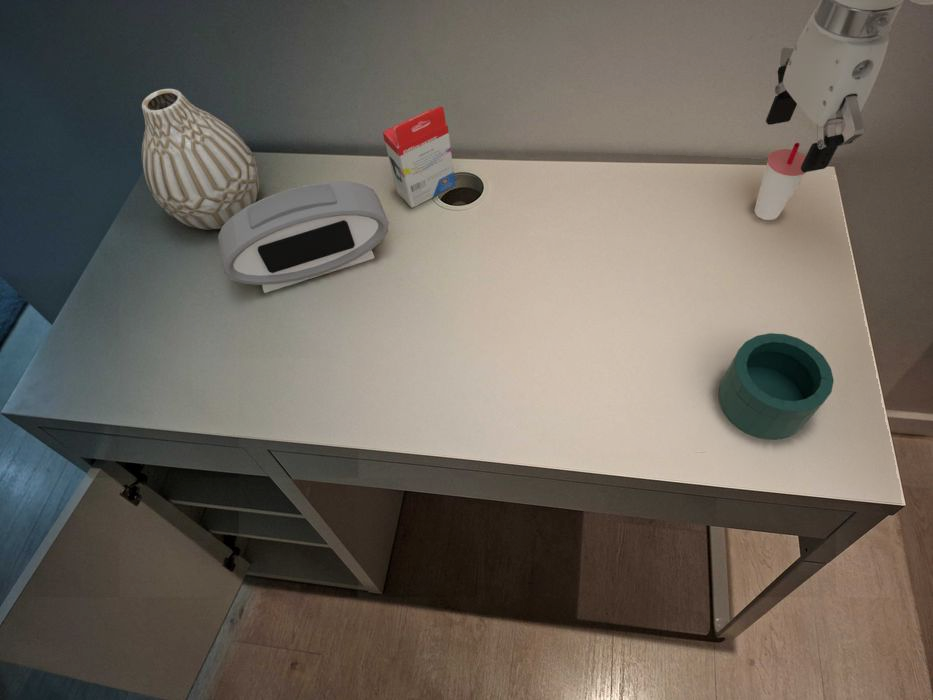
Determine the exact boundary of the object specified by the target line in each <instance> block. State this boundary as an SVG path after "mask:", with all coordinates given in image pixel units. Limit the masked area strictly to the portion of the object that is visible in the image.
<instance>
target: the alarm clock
mask: <svg viewBox="0 0 933 700" xmlns="http://www.w3.org/2000/svg"><path fill="white" fill-rule="evenodd" d="M388 232H389V220H388V218H387V215H386V213H385V210H384V208H383V204H382V203H381V200H380V198H379V195H378V194H377V193H376V191H375V190H374V189H373V188H371V187H369V186H367V185H366V184H363V183H359V182H353V181H326V182H318V183H311V184H310V183H309V184H306V185H301V186H297V187H294V188H289V189H285V190H282V191H279V192H277V193H274V194H271V195H269V196H266V197H264V198H262V199H259V200H256V201H255V203H253V204H251V205H249V206H247V207H246V208H244V209H243V210H241V211H240V212H238V213H237V214H235V215H234V216H232V217H231V218H230V219H229V220H228V221H227V222H226V223H225V224H224V225H223V226H222V228H220V231H219V233H218V235H217V238H218V245H219V250H220V257H221V264H222V270H223V274H224V275H225V276H226V277H228V279H230V280H231V281H233V282H237V283H240V284H244V285H254V286H255V285H256V286H262V291H263V292H264V294H266V293H270V292H273V291H276V290H280V289H282V288H285V287H286V288H287V287H288V286H292V285H295V284H299V283H301V282H304V281H308V280H310V279H314V278H318V277H320V276H323V275H326V274H327V275H328V274H330V273H333V272H336V271H340V270H343V269H346V268H348V267H353V266H356V265H358V264H361V263H364V262H368V261H371V260H374V259H375V258H376V257H375V255H374V252H373V249H375V247H376V246H378V244H380V242H382V241H383V240H384V238H385V236H386V235H387V234H388Z"/></svg>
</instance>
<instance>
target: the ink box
mask: <svg viewBox="0 0 933 700" xmlns="http://www.w3.org/2000/svg"><path fill="white" fill-rule="evenodd" d="M445 114H446V113H445V107H444V105H439V106H437V107H435V108H433V109H432V108H430V109H427V110H426V111H423V112H421V113H419V114H417V115H415V116H413V117H410V118H409V119H406V120H404V121H402V122H400V123H398V124H395V125H394V126H392V127H390V128H387V129H385V130H383V131H382V136H383V140H384V144H385V148H386V152H387V156H388V160H389V164H390V169H391V173H392V177H393V181H394V185H395V189H396V193H397V194H398V195H399V196H400V198H401V199H402V200H403V201H405V202H406V204H407V205H408V206H409V207H410V208H412V209H413V208H415V207H417V206H419V205H421V204H423V203H425V202H428V200H431V199H432V198H434V197H436V196H438V195H440V194H442V193H445V192H446V191H448V190H450V189H452V188H454V187H455V186H456V179H455V171H454V163H453V156H452V155H453V154H452V149H451V141H450V139H451V138H450V133H449V125H448V123H447V120H446V115H445Z"/></svg>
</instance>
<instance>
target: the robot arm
mask: <svg viewBox="0 0 933 700" xmlns="http://www.w3.org/2000/svg"><path fill="white" fill-rule="evenodd" d="M904 1H905V0H819V1H818V4H817V6H816V8H815V9H814V10H813V12H812V14H811V15H810V18H809V19H808V20H807V22H806V24H805V25H804V27H803V30H802V32H801V34H800V36H799V37H798V40H797V42H796V45H792V46H785V47H782V49H781V52H780V61H779V65H780V66H779V67H778V69H777V78H778V79H777V81H778V84H776V85H775V87H774V94H775V96H774V98H773V101H772V104H771V106H770V108H769V111H768V113H767V116H766V119H765V123H766V125H769V126H771V125H777V124H783V123H787V122H790V121H791V119H792V118H793V115H794V113H795V110H796V107H797V106H798V107H799V108H800V110H801V111H802V112H803V113H804V114H805V116H806V117H807V118H808V119H809V120H810V121H811V122H812V123H813V124H814V125H816V142H813V143H812V144H811V145H810V147H809V149H808V151H807V153H806V154H805V156H806V157H805V159H804V161H803V164H802V166H801V170H802V172H806V173H809V172H814V171H819V170H824V169H826V168H827V167H828V166H829V164H830V162H831V160H832V158H833V157H834V155H835V153H836V151H837V149H838V147H840V146H844V145H849V144H852V143H854V141H855V140H857V139H858V138H860V137H861V136H863V135H864V134H865V132H866V128H865V124H864V121H863V116H862V113H861V112H862V110H863V108H864V106H865V104H866V103H867V100H868V99H869V96H870V94H871V92H872V90H873V87H874V86H875V83H876V80H877V78H878V76H879V73H880V70H881V68H882V65H883V63H884V59H885V57H886V53H887V50H888V47H889V42H890V37H889V34H890V33H891V32H892V30H893V27H894V26H893V22H894V20H895V18H896V16H897V14H898V13H899V11H900V9H901V7H902V5H903V3H904ZM909 2H912V3H913V4H918V5H923V6H924V5H925V6H930V5H933V0H909ZM834 116H835V117H834ZM830 125H834V135H831V136H829V126H830Z"/></svg>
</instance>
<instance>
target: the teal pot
mask: <svg viewBox="0 0 933 700" xmlns="http://www.w3.org/2000/svg"><path fill="white" fill-rule="evenodd" d="M834 382H835V381H834V376H833V371H832V368H831V366H830V364H829V362H828V360H827V359H826V358H825V356H824V354H822V353H821V352H820V351H819V350H818V349H816V348H815V346H813V345H811V344H810V343H808V342H806V341H805V340H803V339H801V338H799V337H795V336H792V335H789V334H786V333H772V332H770V333H764V334H759V335H755V336H753V337H752V338H750V339H747V341H745V342H743V344H742V345H741V346H740V348H739V349H738V350H737V352H736V354H735V356H734V358H733V359H732V361H731V363H730V365H729V366H728V369H727V371H726V372H725V374H724V376H723V378H722V380H721V383H720V384H719V389H718V401H719V405H720V409H721V410H722V412H723V414H724V415H725V417H726V418H727V419H728V421H730V423H731V424H733V425H734V426H735V427H736V428H738V429H739V430H740V431H742V432H743V433H745V434H747V435H749V436H752V437H755V438H757V439H763V440H781V439H786V438H789V437H792V436H794V435H795V434H797V433H798V432H799V431H801V429H802V428H803V427H804V426H805V425H806V424H807V423H808V421H810V419H811V418H812V417H813V415H815V414H816V412H817V411H818V410H819V409H820V407H822V405H823V404H824V403H825V402H826V400H827V399H828V397H829V396H830V395H831V393H832V392H833V387H834Z"/></svg>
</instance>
